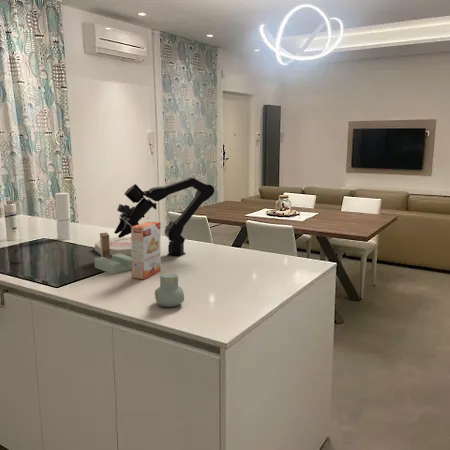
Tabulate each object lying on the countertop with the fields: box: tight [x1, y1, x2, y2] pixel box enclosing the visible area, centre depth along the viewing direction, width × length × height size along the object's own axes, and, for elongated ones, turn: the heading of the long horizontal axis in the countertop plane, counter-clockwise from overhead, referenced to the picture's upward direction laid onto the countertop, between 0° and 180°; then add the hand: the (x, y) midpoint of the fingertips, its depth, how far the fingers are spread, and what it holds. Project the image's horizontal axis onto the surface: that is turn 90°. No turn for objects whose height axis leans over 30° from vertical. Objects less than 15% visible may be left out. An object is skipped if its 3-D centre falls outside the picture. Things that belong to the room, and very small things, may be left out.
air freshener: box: [154, 272, 185, 308], centre depth 150 cm, size 11×8×10 cm
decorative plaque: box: [94, 236, 132, 257], centre depth 227 cm, size 30×4×30 cm
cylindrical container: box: [54, 192, 72, 241], centre depth 247 cm, size 7×7×25 cm
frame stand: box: [94, 254, 132, 275], centre depth 193 cm, size 14×12×4 cm
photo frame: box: [99, 232, 111, 259], centre depth 202 cm, size 6×3×12 cm, turn 24°
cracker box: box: [130, 221, 162, 280], centre depth 182 cm, size 14×6×21 cm, turn 160°
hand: (116, 235), depth 203 cm, fingers open, 9 cm apart
